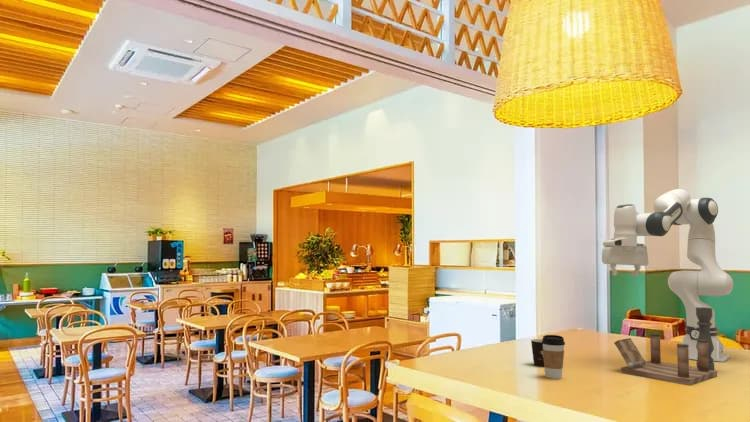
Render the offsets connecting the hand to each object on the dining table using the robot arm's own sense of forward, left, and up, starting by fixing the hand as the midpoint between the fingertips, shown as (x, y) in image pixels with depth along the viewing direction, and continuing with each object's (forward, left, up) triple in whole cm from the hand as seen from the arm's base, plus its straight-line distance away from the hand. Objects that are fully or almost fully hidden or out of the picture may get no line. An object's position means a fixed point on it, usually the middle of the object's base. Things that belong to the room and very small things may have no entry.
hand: (625, 276), depth 234 cm
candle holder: (-18, +23, -37) cm, 47 cm away
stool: (+1, +17, -37) cm, 41 cm away
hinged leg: (+8, +8, -34) cm, 35 cm away
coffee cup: (+42, -7, -37) cm, 56 cm away
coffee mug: (+26, -21, -37) cm, 50 cm away
